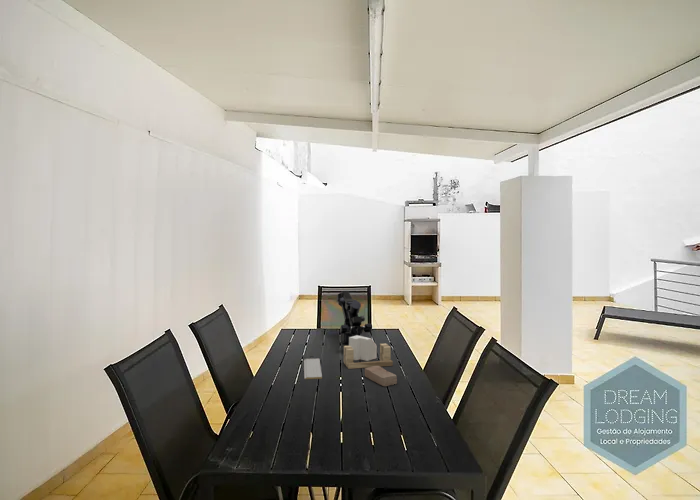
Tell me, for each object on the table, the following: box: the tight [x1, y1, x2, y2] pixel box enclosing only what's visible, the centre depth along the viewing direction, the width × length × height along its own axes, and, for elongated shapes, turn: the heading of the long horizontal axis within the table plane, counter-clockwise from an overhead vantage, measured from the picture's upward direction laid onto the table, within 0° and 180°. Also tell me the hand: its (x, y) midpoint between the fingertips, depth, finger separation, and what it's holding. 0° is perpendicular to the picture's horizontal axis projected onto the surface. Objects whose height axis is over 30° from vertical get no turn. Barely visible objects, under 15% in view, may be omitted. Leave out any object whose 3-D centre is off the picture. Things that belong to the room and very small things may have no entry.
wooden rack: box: [343, 343, 394, 370], centre depth 229 cm, size 12×24×9 cm, turn 103°
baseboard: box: [302, 355, 323, 380], centre depth 221 cm, size 30×3×10 cm
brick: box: [364, 366, 398, 387], centre depth 205 cm, size 17×8×5 cm, turn 31°
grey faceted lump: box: [348, 335, 378, 362], centre depth 240 cm, size 11×11×12 cm
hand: (358, 341), depth 249 cm, fingers closed
